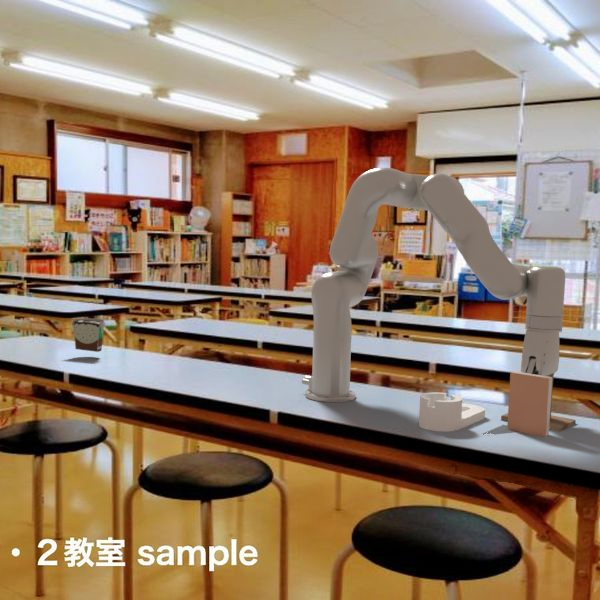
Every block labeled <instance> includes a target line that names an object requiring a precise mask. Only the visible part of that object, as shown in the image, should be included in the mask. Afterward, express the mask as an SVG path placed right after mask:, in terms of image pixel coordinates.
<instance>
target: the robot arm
mask: <svg viewBox="0 0 600 600" xmlns="http://www.w3.org/2000/svg"><path fill="white" fill-rule="evenodd" d="M382 205H386V206H392V207H396V208H404V209H414V210H422V211H429V213H430V214H431V215H432V218H434V220H436V222H437V223H438V224H439V226H440V227H441V228H442V229H443V231H444V232H445V233H446V234H447V236H448V237H449V238H450V239H451V241H452V242H453V244H454V245H455V247H456V248H457V251H458V252H459V253H460V255H461V256H462V258H463V259H464V261H465V262H466V265H467V266H468V267H469V268H470V269H471V271H472V273H473V274H474V275H475V276H476V277H477V278H478V279H477V280H479V282H480V283H481V284H482V285H483V286H484V287H485V289H486V290H487V291H488V292H489V293H490V295H492V296H493V297H495V298H497V299H499V300H503V301H505V300H507V301H508V300H513V299H516V298H521V297H522V298H523V297H526V309H525V310H526V311H525V327H524V329H525V335H524V340H523V345H522V352H521V363H520V372H523V373H529V374H534V373H538V375H542V376H547V375H550V374H553V373H554V374H555V373H557V372H558V370H559V362H560V332H561V333H562V332H563V321H564V318H563V317H564V305H565V303H564V302H565V286H566V272H565V270H564V268H561V267H558V266H543V265H542V266H541V265H540V266H539V265H538V266H527V265H523V264H521V265H520V264H515V263H512V262H511V261H510V259H509V258H508V257H507V256H506V254H504V252H503V251H502V250H501V249H500V248H501V247H499V245H498V244H497V243H496V241H495V239H494V238H493V236H492V234H491V232H490V231H491V230H490V228H489V224H488V222H487V220H486V218H485V217H484V216H483V215H482V214H481V213H480V210H478V208H476V206H475V205H474V204H473V203H472V202H471V200H470V199H469V197H468V196H467V195H466V194H465V189H464V186H463V185H462V183H461V182H460V181H459V180H458V179H457V178H455V177H453V176H450V175H448V174H445V173H434V174H432V175H423V174H418V173H409V172H408V173H407V172H405V171H401V170H398V169H395V168H392V167H378V168H373V169H369V170H367V171H365V172H363V173H362V174H360V175H359V176H358V177H357V178H356V179H355V180H354V181H353V183H352V185H351V187H350V188H349V191H348V194H347V197H346V201H345V203H344V207H343V209H342V213H341V215H340V217H339V221H338V223H337V227H336V229H335V232H334V235H333V238H332V241H331V244H330V246H329V258H330V260H331V262H332V263H333V264H334V265H335V266H336V267H337V269H336V271H329V272H325V273H323V274H321V275H320V276H318V277H317V278H316V280H315V281H314V282H313V285H312V287H311V288H312V289H311V295H310V296H311V306H312V313H313V338H312V339H313V343H312V367H311V368H312V370H311V371H312V373H311V376H310V375H305V376H304V378H303V379H302V380H301V384H302V385H304V386H305V385H306V386H308V389H306V391H305V394H304V396H305V398H307V399H309V400H312V401H316V402H324V403H344V402H350V401H351V402H352V401H353V400H355V399H356V392H354V391H353V390H351V389H350V386H351V355H352V330H353V329H352V317H351V310H350V309H351V308H352V307H355V306H356V305H359V303H361V302H362V300H363V299H364V297H365V295H366V293H367V290H368V287H369V284H370V281H371V279H372V277H373V273H374V270H375V267H376V264H377V262H378V257H379V245H378V242H377V240H376V238H375V237H374V236H373V235H372V234H373V231H374V227H375V225H376V223H377V219H378V213H379V208H380V207H381V206H382ZM554 377H555V376H554V375H553V378H554Z"/></svg>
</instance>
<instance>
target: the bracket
mask: <svg viewBox="0 0 600 600" xmlns="http://www.w3.org/2000/svg"><path fill="white" fill-rule="evenodd" d="M447 395H448V393H447V392H440V391H438V392H437V391H435V392H430V391H429V392H423V393H421V394H420V395H419V410H418V411H419V414H418V426H419V427H420V428H421V429H426V430H427V431H428V430H429V431H434V432H455V430H456V431H459V430H462V429H464V428H467V427H468V425H469V426H471V425H473V424H475V423H478V422H480V421H482V420H485V419H486V418H485V417H486V409H485V408H484V407H481V406H479V405H475V404H471V403H465V402H464V403H463V397H461V396H460V395H457V394H452V395H451V396H450V399H447ZM463 427H464V428H463ZM461 428H462V429H461Z"/></svg>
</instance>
